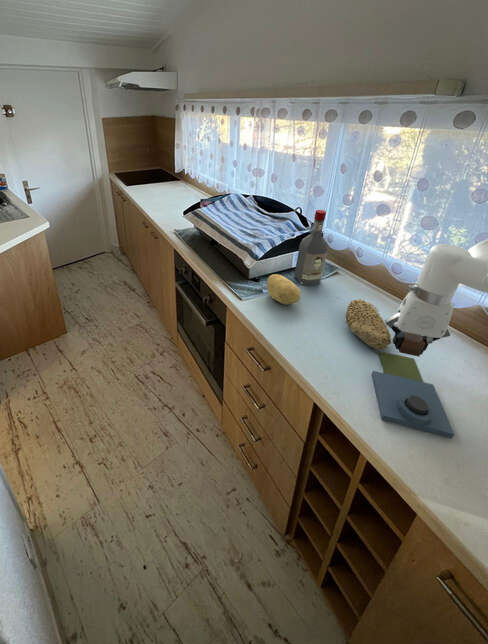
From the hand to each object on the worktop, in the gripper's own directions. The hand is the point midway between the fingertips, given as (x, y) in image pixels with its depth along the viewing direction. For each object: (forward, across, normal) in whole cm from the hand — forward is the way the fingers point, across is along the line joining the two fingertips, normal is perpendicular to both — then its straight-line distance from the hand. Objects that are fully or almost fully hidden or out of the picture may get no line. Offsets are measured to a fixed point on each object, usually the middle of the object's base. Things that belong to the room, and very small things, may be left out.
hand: (407, 347), depth 83 cm
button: (+4, -1, -16) cm, 17 cm away
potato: (+8, -34, +22) cm, 41 cm away
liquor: (+8, -25, +40) cm, 48 cm away
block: (0, 0, 0) cm, 0 cm away
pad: (+7, 0, 0) cm, 7 cm away
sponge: (+8, -7, +14) cm, 17 cm away
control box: (+7, -1, -12) cm, 15 cm away
